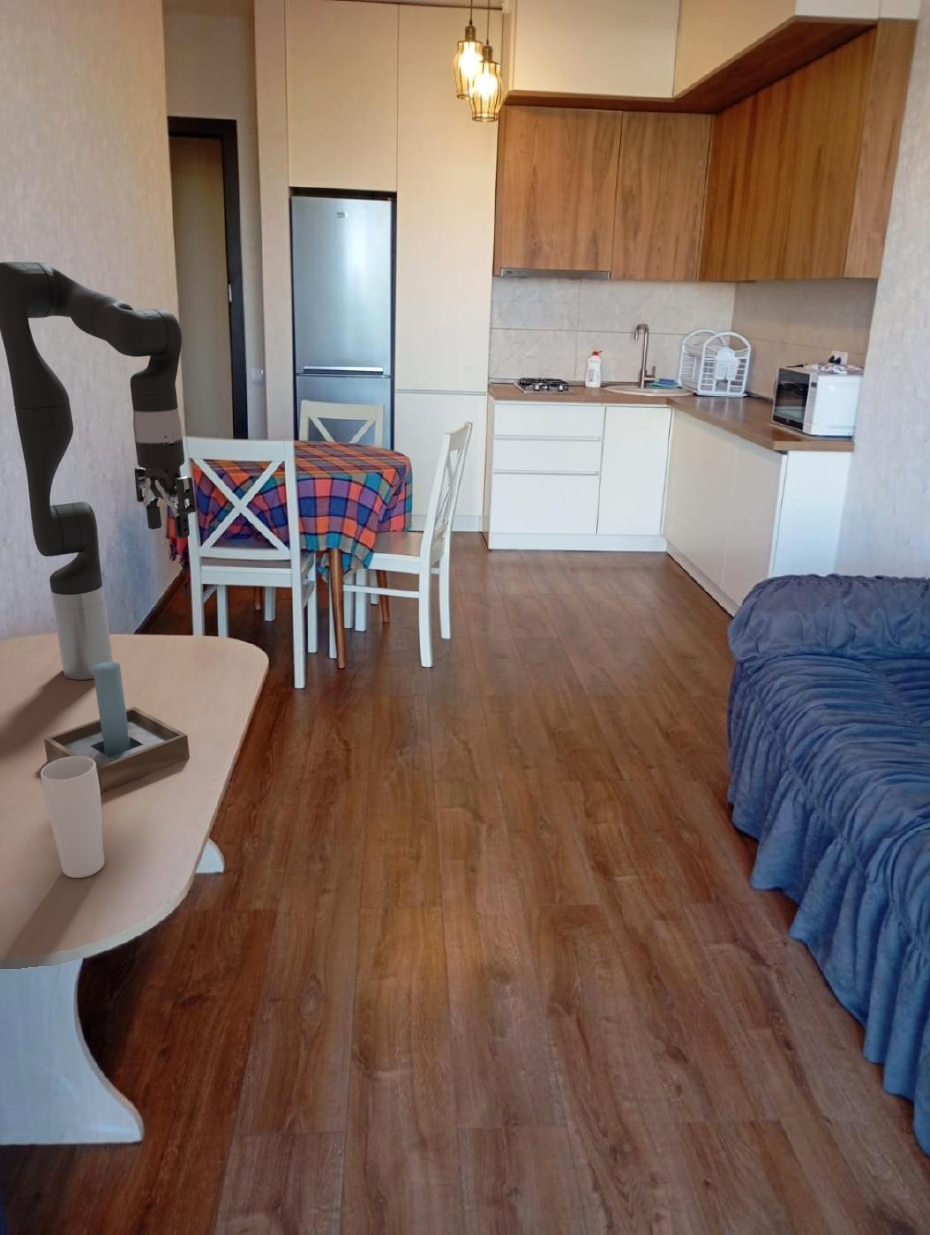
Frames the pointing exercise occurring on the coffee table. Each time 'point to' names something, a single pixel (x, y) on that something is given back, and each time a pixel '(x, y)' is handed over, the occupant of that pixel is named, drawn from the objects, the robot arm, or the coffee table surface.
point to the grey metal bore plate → (139, 740)
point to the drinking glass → (75, 813)
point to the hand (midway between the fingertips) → (168, 532)
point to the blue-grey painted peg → (112, 708)
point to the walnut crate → (133, 763)
